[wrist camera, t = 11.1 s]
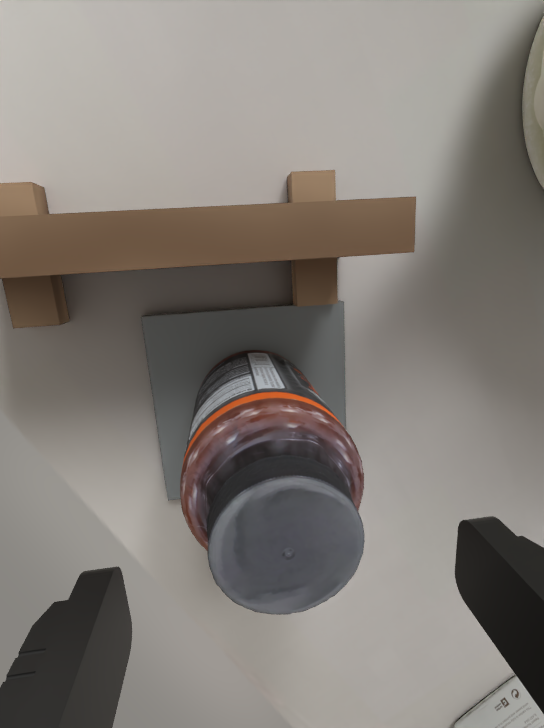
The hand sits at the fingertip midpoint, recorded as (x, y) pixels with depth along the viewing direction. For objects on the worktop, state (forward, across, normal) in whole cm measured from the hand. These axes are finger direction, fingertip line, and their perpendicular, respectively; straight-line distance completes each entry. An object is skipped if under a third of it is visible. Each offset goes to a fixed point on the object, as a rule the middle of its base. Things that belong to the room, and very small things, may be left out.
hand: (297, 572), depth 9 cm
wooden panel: (+12, +3, -8) cm, 15 cm away
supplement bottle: (+12, 0, 0) cm, 12 cm away
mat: (+12, 0, 0) cm, 12 cm away
